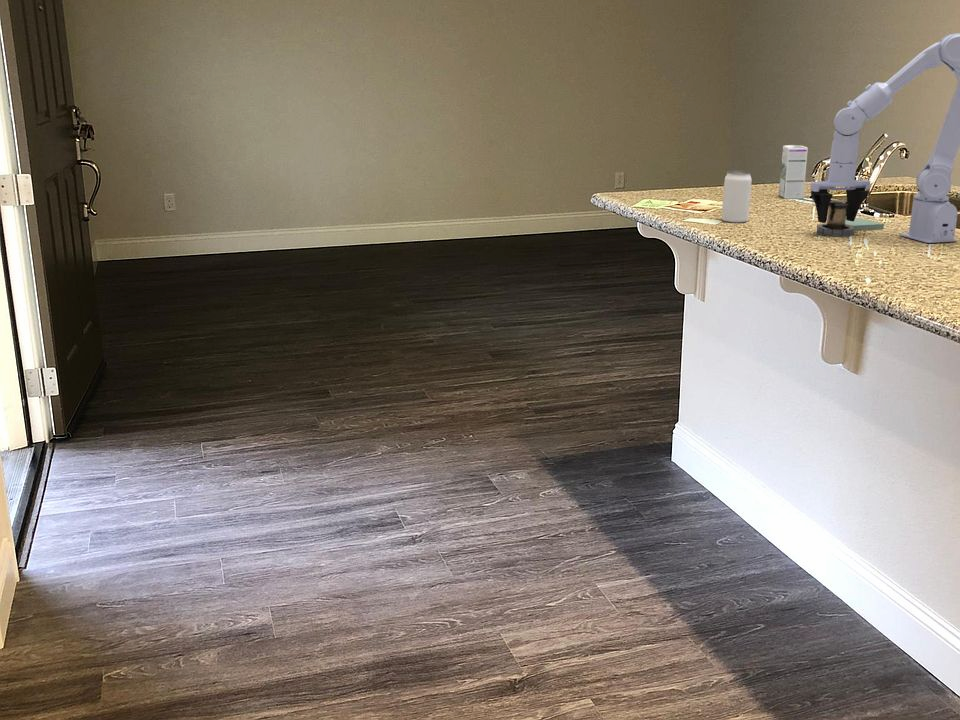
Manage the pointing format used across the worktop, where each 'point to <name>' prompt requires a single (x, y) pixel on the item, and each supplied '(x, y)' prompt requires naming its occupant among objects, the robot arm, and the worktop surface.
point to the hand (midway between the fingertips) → (836, 221)
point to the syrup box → (793, 172)
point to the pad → (864, 224)
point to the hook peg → (837, 214)
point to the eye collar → (835, 231)
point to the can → (736, 197)
